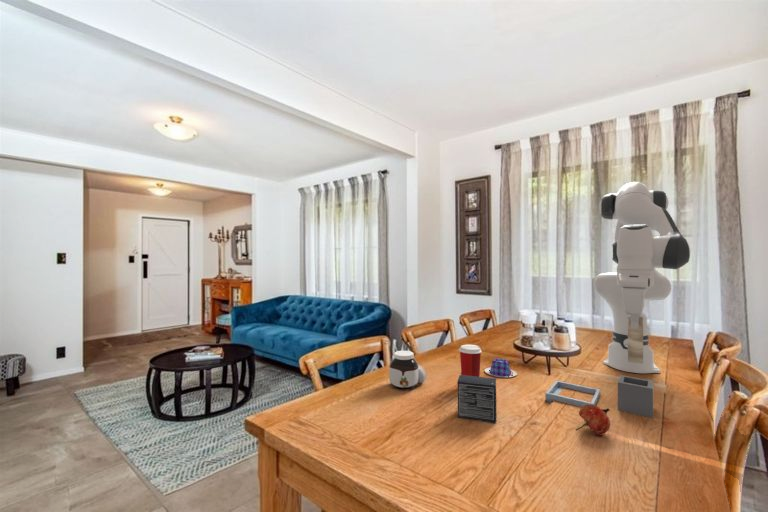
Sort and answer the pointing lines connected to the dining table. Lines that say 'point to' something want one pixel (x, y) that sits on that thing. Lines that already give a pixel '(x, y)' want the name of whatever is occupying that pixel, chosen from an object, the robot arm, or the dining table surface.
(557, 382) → the slate tray
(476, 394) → the small box
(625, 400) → the grey open-top box
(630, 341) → the maple dowel
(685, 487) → the dining table surface
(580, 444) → the dining table surface
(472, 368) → the paper cup
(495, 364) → the pudding
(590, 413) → the pomegranate
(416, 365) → the spread jar
